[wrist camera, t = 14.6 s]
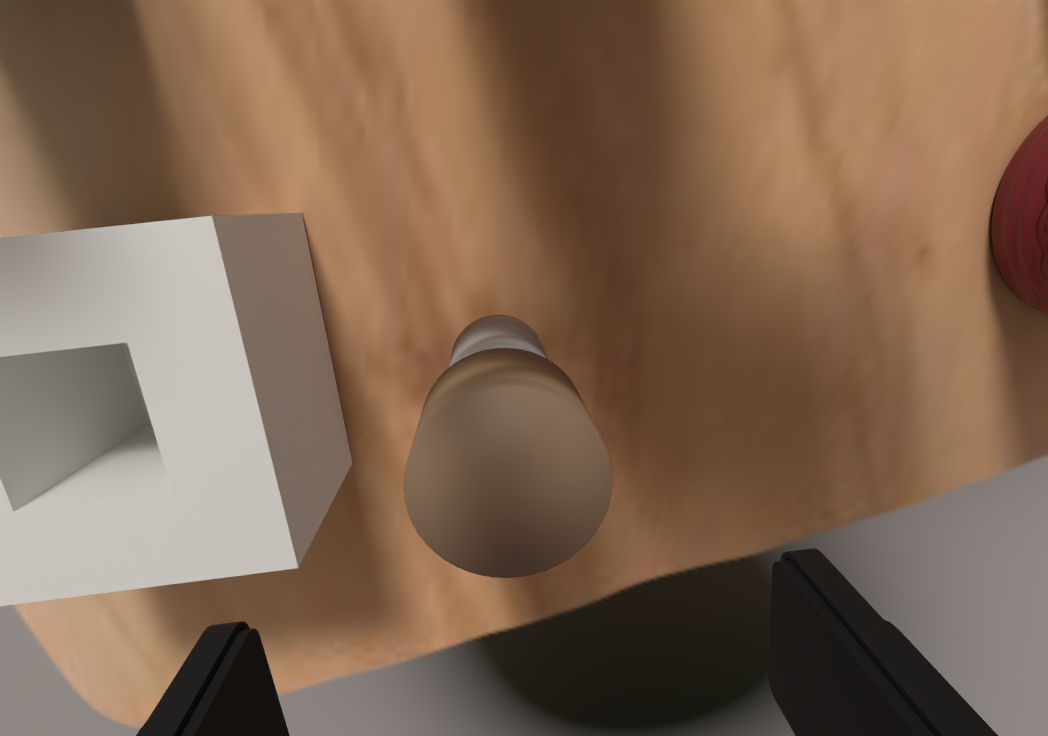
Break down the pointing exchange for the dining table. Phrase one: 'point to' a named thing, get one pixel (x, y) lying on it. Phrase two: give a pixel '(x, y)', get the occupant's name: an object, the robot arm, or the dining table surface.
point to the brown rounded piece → (505, 457)
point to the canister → (1024, 221)
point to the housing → (162, 405)
